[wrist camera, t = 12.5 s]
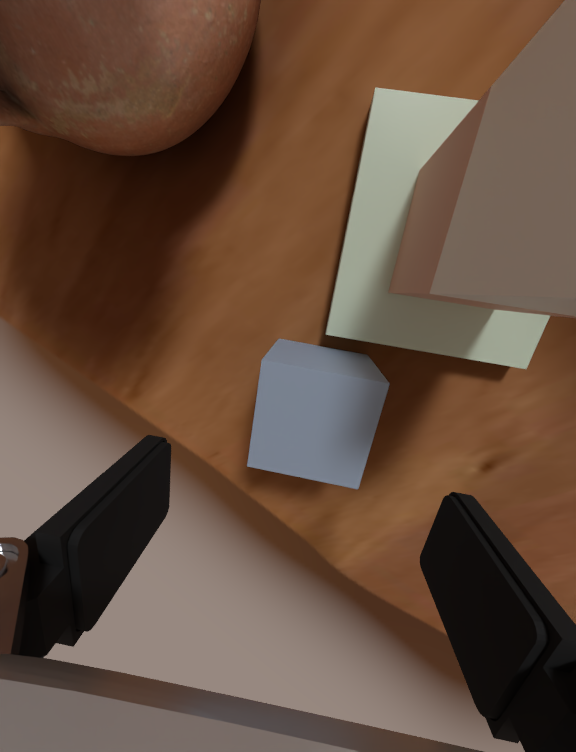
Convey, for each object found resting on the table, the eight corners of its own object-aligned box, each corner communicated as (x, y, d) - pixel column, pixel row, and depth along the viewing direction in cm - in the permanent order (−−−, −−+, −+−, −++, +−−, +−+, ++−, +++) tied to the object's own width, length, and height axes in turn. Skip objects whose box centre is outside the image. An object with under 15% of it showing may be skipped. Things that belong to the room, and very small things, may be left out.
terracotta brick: (541, 187, 14) (703, 111, 8) (494, 309, 15) (598, 320, 10) (419, 170, 14) (491, 86, 8) (388, 292, 16) (428, 293, 10)
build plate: (611, 134, 14) (637, 120, 12) (512, 364, 17) (526, 369, 16) (370, 103, 14) (375, 87, 13) (325, 331, 18) (325, 334, 17)
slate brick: (367, 354, 18) (389, 383, 13) (346, 432, 20) (358, 489, 14) (278, 338, 18) (261, 359, 13) (266, 417, 20) (247, 466, 15)
